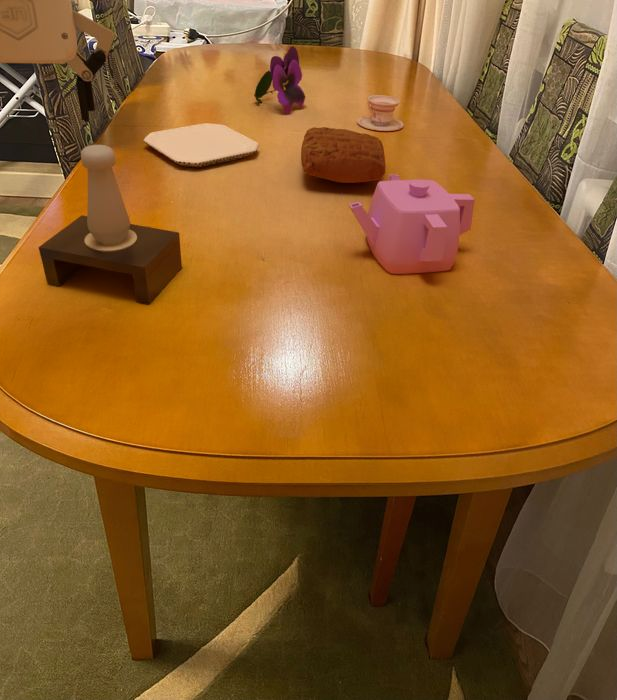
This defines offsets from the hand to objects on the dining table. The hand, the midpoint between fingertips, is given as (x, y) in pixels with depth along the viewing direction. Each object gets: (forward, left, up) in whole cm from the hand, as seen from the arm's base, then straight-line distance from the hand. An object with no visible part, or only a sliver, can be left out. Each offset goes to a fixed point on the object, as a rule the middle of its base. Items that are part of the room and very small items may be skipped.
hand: (37, 118), depth 64 cm
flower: (-6, +106, -27) cm, 109 cm away
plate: (-11, +67, -27) cm, 73 cm away
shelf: (-2, +13, -27) cm, 30 cm away
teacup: (+23, +103, -27) cm, 109 cm away
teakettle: (+38, +36, -27) cm, 59 cm away
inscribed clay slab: (+21, +65, -27) cm, 73 cm away
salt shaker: (-2, +13, -21) cm, 24 cm away
